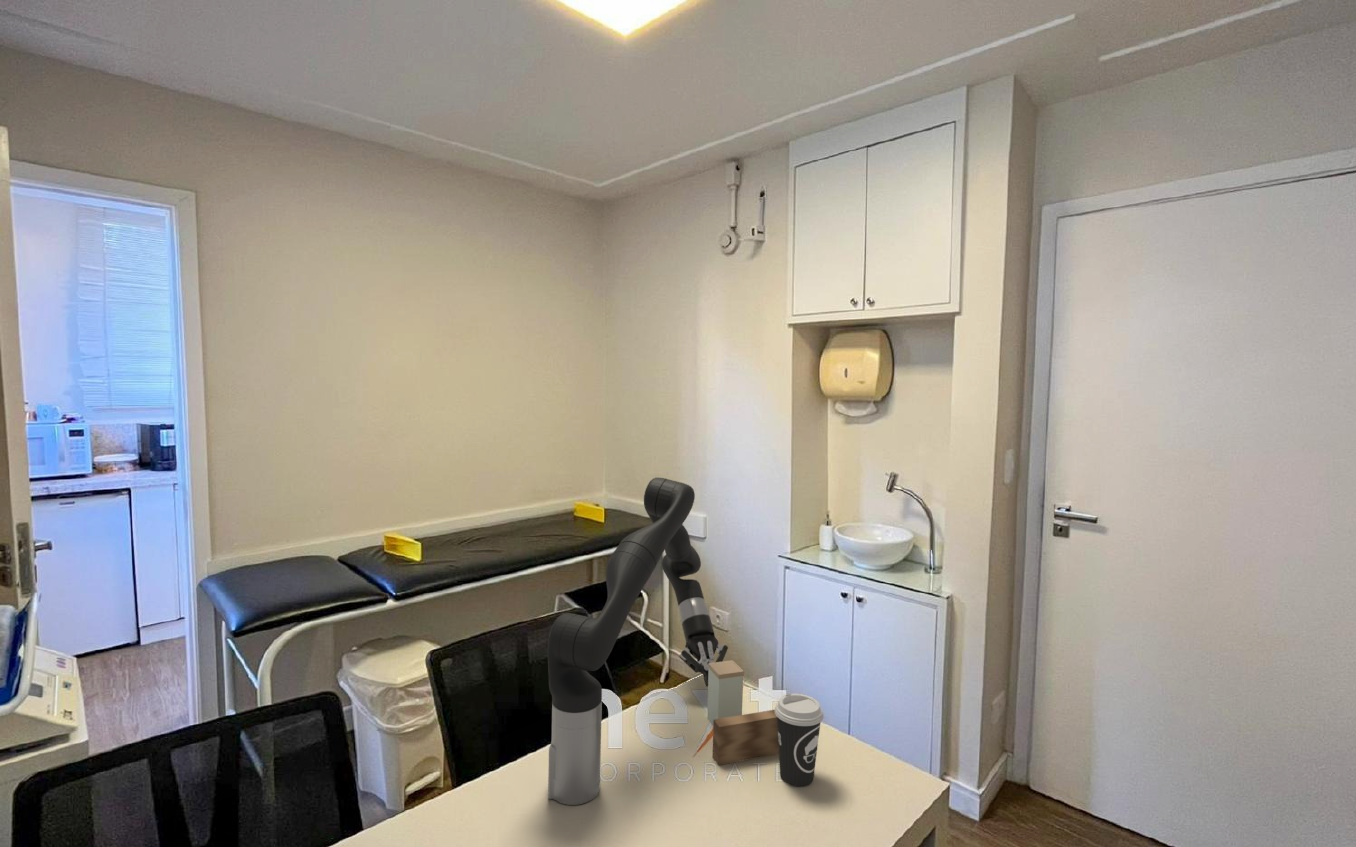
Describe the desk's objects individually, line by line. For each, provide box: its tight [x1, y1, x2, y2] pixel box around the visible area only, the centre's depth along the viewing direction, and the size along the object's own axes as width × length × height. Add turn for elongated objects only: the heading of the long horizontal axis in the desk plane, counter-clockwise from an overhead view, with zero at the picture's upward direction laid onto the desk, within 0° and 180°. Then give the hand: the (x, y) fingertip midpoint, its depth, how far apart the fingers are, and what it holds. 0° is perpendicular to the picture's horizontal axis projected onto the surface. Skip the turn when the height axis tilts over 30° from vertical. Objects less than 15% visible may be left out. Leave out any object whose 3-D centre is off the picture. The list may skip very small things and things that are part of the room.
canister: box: [706, 659, 745, 726], centre depth 144 cm, size 6×6×13 cm
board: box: [712, 709, 779, 766], centre depth 131 cm, size 16×3×8 cm, turn 110°
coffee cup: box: [773, 693, 825, 788], centre depth 124 cm, size 10×10×15 cm
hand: (712, 687), depth 151 cm, fingers closed
